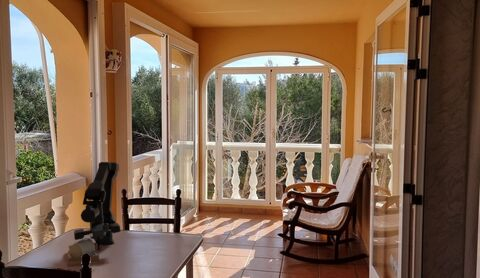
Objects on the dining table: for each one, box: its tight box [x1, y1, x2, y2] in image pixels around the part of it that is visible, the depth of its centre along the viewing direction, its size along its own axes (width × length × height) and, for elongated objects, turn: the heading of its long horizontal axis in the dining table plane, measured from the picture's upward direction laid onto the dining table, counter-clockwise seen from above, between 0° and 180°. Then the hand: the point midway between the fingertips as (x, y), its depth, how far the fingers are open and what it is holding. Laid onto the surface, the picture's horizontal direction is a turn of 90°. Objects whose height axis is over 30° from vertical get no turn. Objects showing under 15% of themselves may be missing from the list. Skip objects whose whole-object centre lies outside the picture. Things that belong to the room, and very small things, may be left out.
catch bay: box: [67, 242, 100, 267], centre depth 166 cm, size 17×12×3 cm
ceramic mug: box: [69, 237, 98, 259], centre depth 164 cm, size 11×8×8 cm
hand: (99, 250), depth 168 cm, fingers closed
